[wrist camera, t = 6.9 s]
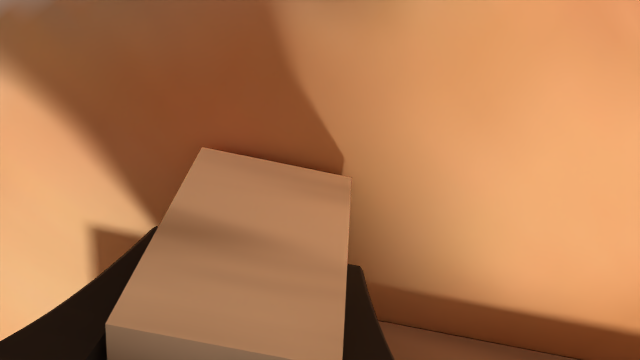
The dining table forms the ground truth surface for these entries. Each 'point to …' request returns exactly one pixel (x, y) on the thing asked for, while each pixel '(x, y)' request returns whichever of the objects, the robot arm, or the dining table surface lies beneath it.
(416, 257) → the dining table surface
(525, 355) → the plank
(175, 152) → the dining table surface
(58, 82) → the dining table surface
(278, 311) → the wooden mallet
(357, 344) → the robot arm
